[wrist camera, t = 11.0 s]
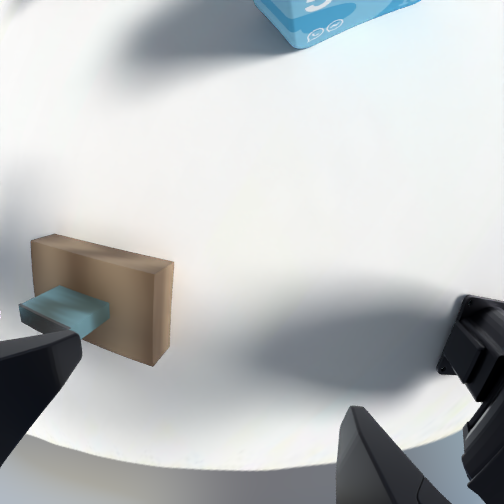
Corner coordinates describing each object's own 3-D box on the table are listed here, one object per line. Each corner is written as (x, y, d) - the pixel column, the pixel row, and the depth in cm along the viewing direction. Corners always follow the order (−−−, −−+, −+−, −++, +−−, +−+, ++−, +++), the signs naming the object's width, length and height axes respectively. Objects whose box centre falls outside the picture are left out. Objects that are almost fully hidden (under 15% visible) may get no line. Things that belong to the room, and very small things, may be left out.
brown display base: (174, 261, 21) (113, 300, 14) (169, 346, 23) (122, 403, 15) (54, 233, 22) (-11, 253, 15) (58, 306, 24) (3, 339, 17)
